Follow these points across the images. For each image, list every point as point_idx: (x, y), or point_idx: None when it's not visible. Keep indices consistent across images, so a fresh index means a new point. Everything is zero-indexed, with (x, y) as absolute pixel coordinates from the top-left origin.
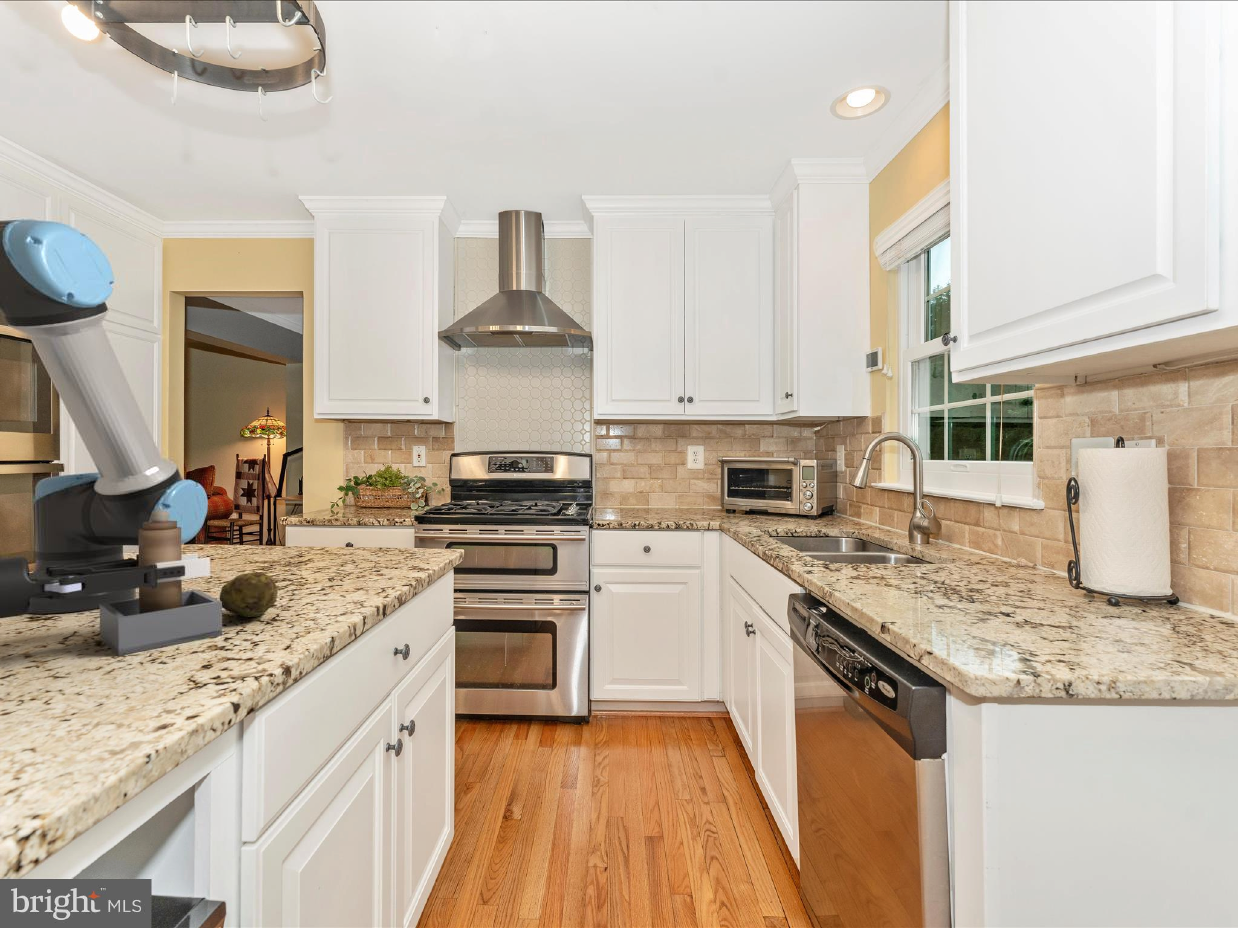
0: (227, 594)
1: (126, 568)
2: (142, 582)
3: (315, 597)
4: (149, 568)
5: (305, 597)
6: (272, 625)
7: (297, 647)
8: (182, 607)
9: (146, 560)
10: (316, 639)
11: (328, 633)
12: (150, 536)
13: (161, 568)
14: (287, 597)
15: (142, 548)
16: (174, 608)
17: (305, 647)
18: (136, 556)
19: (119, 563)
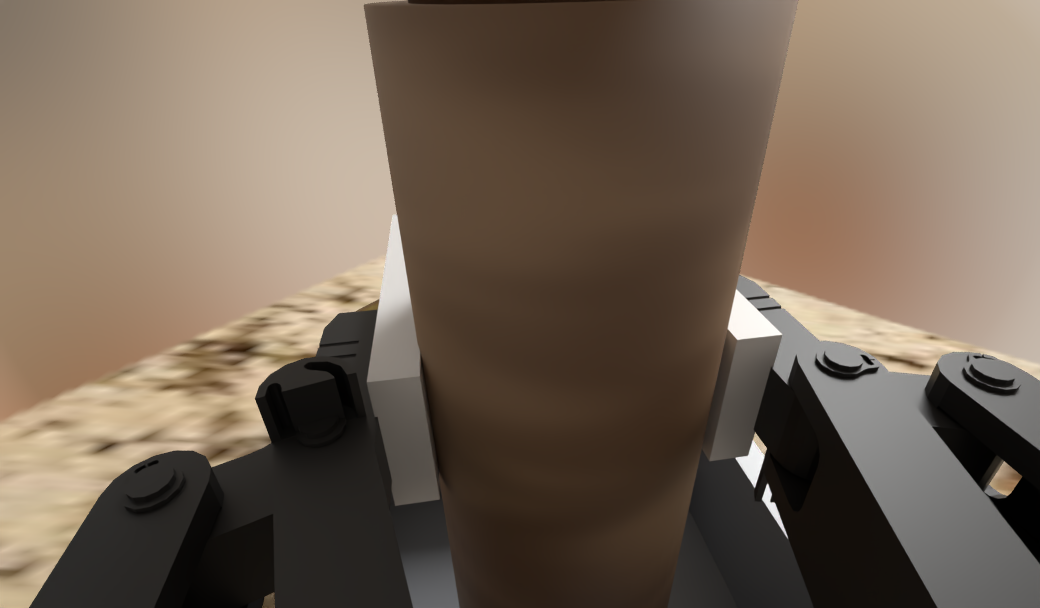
0: None
1: (966, 530)
2: (1033, 504)
3: (375, 269)
4: (1006, 376)
5: (351, 280)
6: None
7: (907, 348)
8: (756, 470)
9: (712, 356)
10: (834, 316)
11: (782, 297)
12: (781, 77)
13: (796, 347)
14: (304, 301)
15: (700, 258)
16: (769, 499)
17: (911, 338)
18: (271, 414)
19: (404, 597)
